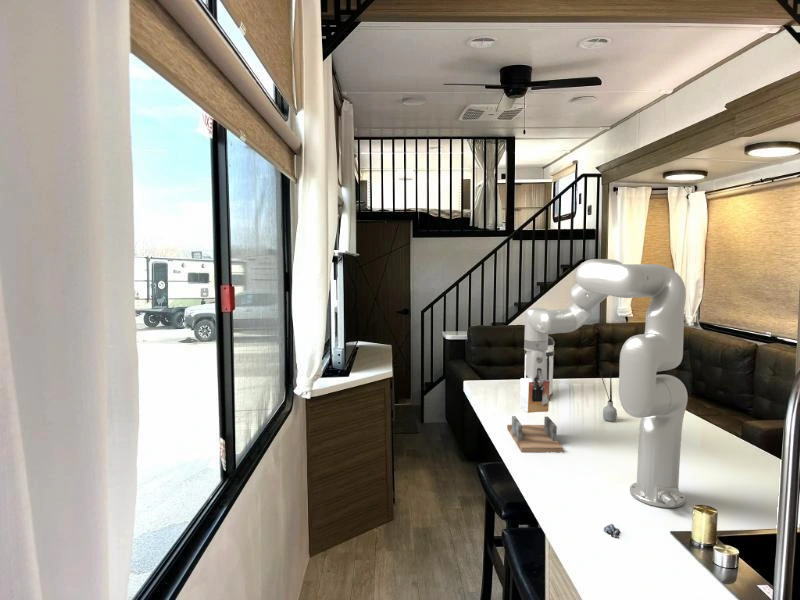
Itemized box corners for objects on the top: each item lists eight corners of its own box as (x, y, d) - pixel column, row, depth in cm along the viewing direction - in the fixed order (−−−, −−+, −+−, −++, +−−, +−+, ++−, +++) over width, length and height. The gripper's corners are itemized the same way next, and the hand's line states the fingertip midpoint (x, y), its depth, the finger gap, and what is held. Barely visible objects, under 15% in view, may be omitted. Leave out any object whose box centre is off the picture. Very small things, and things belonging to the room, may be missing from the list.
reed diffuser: (616, 425, 185) (619, 371, 183) (596, 422, 188) (598, 369, 186) (616, 417, 194) (618, 366, 193) (597, 415, 197) (599, 364, 195)
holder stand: (562, 452, 158) (563, 432, 158) (521, 452, 158) (521, 432, 158) (543, 429, 180) (544, 411, 180) (507, 428, 180) (507, 410, 180)
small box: (527, 413, 165) (528, 381, 164) (519, 408, 170) (519, 377, 169) (549, 411, 167) (550, 380, 166) (540, 406, 172) (541, 376, 171)
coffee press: (512, 394, 227) (513, 328, 224) (542, 391, 232) (544, 326, 229) (533, 404, 210) (535, 333, 208) (566, 401, 215) (568, 332, 213)
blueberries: (623, 527, 116) (623, 519, 116) (637, 544, 108) (637, 535, 108) (593, 526, 116) (593, 518, 116) (605, 543, 108) (605, 534, 108)
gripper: (555, 350, 158) (553, 406, 159) (540, 341, 175) (538, 391, 177) (531, 350, 158) (529, 405, 160) (518, 340, 175) (517, 391, 177)
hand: (534, 397), depth 168 cm, fingers closed on small box, 6 cm apart
